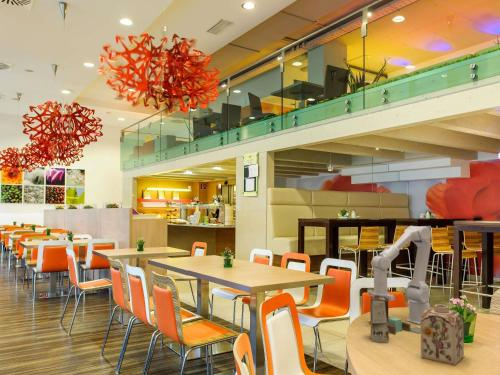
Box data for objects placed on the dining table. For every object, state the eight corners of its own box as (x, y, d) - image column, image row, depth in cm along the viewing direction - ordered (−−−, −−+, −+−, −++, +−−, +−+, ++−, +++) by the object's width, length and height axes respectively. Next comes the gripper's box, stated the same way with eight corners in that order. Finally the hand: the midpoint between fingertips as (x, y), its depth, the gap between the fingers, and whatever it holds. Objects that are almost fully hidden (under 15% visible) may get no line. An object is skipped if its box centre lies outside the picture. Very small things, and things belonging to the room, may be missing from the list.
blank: (392, 328, 187) (392, 316, 187) (401, 331, 183) (401, 319, 183) (386, 329, 185) (386, 317, 186) (395, 332, 181) (395, 320, 181)
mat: (416, 327, 188) (416, 326, 188) (429, 331, 182) (429, 330, 182) (404, 329, 185) (404, 328, 185) (418, 333, 179) (418, 333, 179)
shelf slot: (394, 326, 190) (394, 319, 191) (410, 331, 182) (410, 324, 183) (377, 329, 186) (377, 322, 186) (393, 334, 178) (393, 327, 178)
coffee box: (389, 342, 167) (388, 301, 168) (372, 341, 168) (371, 300, 169) (386, 336, 176) (386, 296, 176) (370, 335, 177) (370, 295, 178)
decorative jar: (430, 349, 159) (429, 300, 160) (464, 356, 152) (463, 305, 153) (420, 358, 150) (419, 306, 151) (455, 366, 143) (454, 311, 143)
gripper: (362, 281, 196) (362, 311, 195) (386, 286, 183) (386, 318, 183) (373, 280, 199) (373, 309, 199) (398, 285, 187) (398, 316, 186)
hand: (380, 313), depth 191 cm, fingers closed
